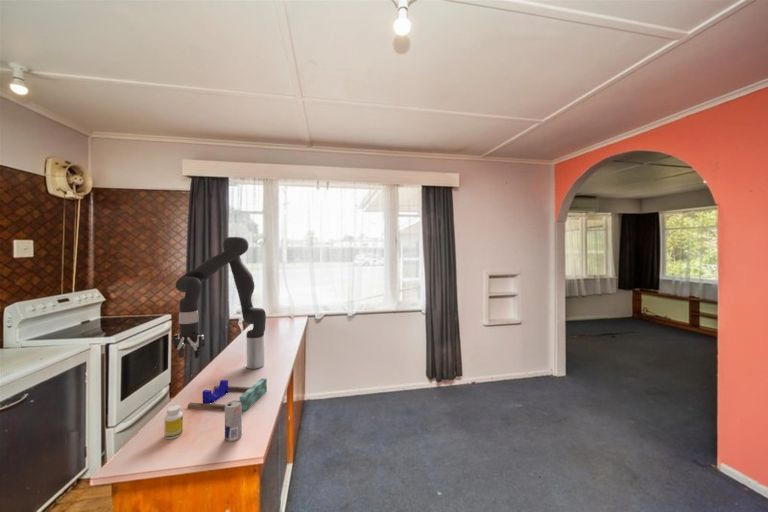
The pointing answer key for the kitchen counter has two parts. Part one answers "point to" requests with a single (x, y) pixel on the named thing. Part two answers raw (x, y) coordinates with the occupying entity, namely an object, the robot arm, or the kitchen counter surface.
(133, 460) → the kitchen counter surface
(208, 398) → the cable clip
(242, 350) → the kitchen counter surface
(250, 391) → the guide channel
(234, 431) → the energy drink
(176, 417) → the supplement bottle
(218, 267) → the robot arm
